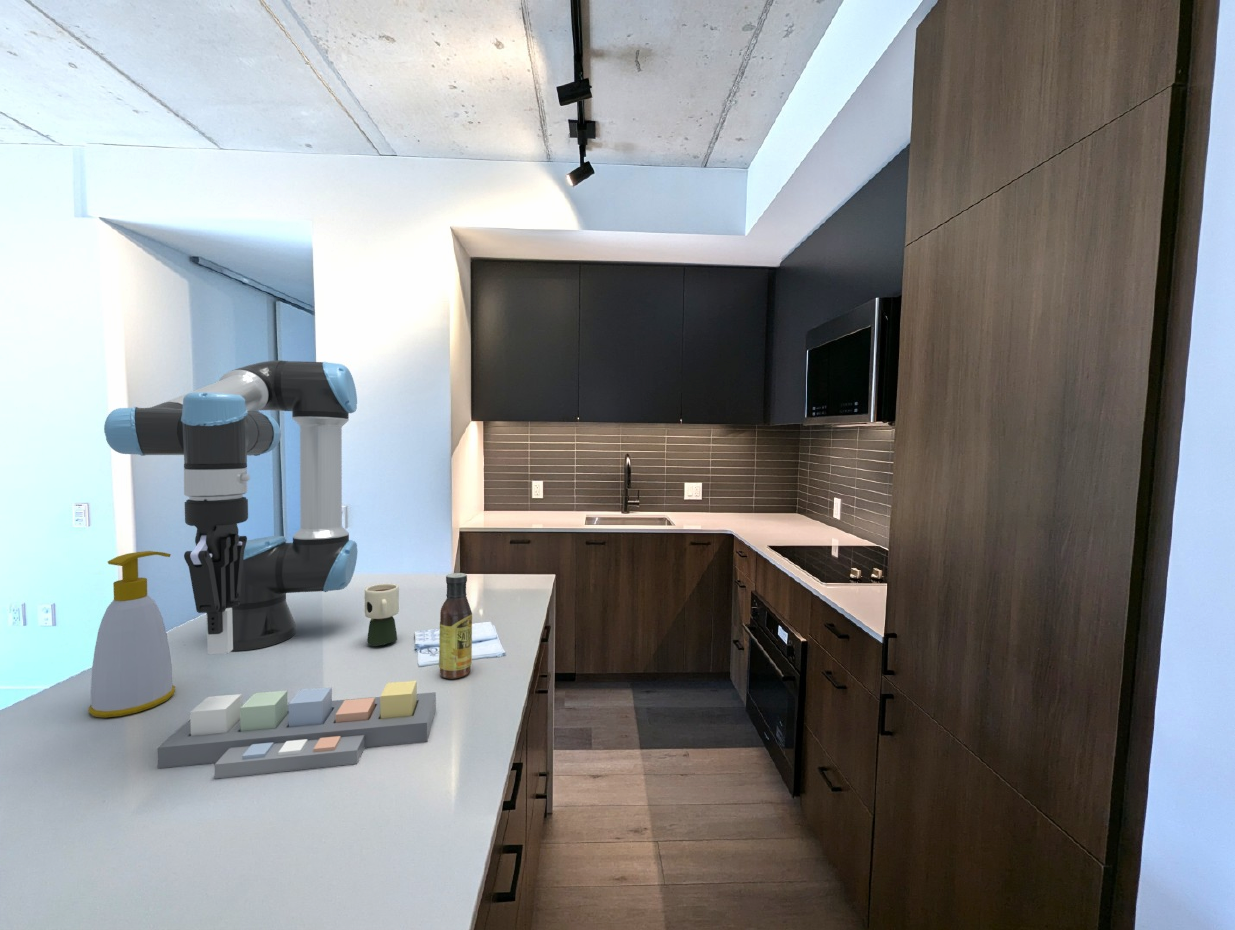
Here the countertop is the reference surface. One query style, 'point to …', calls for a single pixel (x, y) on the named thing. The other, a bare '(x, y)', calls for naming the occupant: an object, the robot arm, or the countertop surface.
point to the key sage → (264, 711)
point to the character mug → (381, 613)
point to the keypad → (296, 742)
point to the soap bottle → (130, 648)
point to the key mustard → (399, 699)
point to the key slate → (310, 707)
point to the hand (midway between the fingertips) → (220, 651)
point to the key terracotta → (355, 710)
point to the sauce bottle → (455, 629)
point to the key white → (215, 715)
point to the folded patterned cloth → (482, 644)
